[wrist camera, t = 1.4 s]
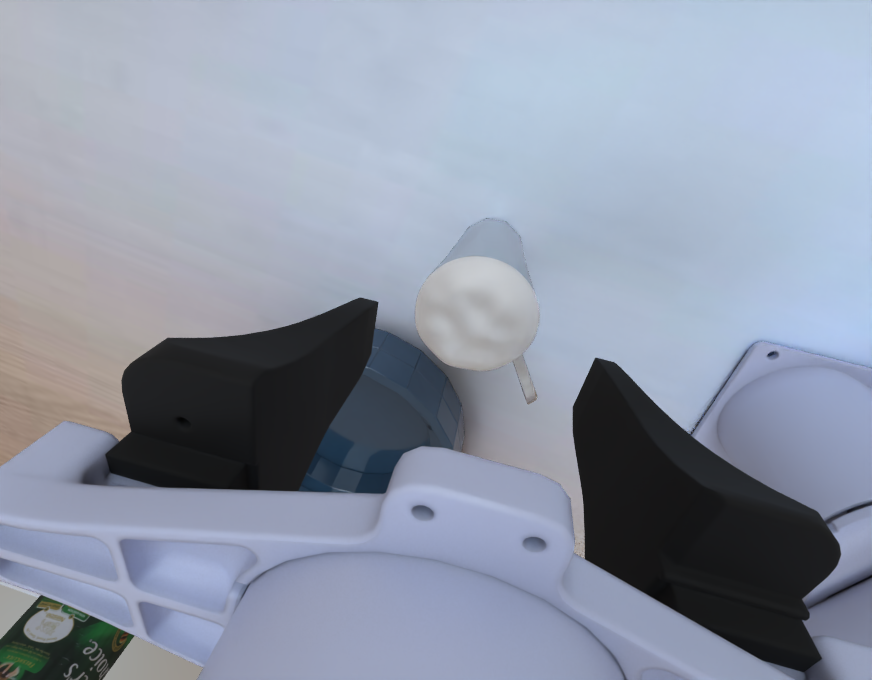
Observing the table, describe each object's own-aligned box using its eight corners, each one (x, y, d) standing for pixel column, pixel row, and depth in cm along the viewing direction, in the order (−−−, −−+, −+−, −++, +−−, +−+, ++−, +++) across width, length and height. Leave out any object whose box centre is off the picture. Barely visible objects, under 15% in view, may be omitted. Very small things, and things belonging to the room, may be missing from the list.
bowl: (488, 351, 26) (482, 397, 22) (441, 505, 33) (431, 559, 30) (262, 293, 27) (218, 327, 23) (265, 456, 34) (232, 502, 30)
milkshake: (499, 314, 25) (484, 433, 16) (430, 247, 24) (376, 337, 15) (564, 261, 23) (587, 366, 14) (492, 184, 21) (470, 248, 13)
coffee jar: (179, 592, 48) (5, 845, 32) (110, 570, 48) (-96, 810, 32) (172, 539, 43) (-39, 808, 27) (95, 515, 43) (-158, 767, 27)
